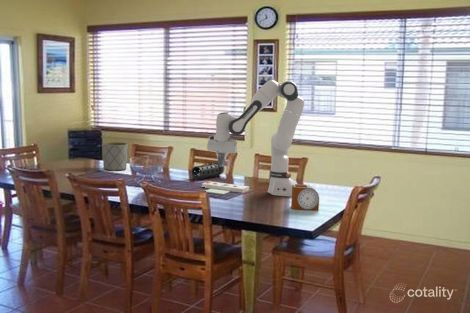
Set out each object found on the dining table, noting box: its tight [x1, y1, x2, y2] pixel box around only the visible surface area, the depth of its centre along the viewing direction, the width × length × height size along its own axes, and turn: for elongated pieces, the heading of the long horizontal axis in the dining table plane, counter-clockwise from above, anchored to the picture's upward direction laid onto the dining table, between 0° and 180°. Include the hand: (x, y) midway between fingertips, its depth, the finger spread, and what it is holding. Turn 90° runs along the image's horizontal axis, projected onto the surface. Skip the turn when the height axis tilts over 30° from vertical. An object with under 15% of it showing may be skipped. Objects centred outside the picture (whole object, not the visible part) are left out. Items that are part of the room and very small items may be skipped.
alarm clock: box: [290, 183, 320, 211], centre depth 303 cm, size 15×8×14 cm, turn 90°
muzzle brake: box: [191, 161, 226, 181], centre depth 388 cm, size 10×28×10 cm, turn 144°
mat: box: [205, 188, 231, 195], centre depth 340 cm, size 14×9×1 cm, turn 65°
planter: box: [101, 141, 129, 172], centre depth 408 cm, size 19×19×20 cm
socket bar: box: [201, 180, 250, 194], centre depth 351 cm, size 30×10×3 cm, turn 65°
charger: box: [217, 152, 226, 167], centre depth 343 cm, size 3×4×8 cm
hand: (221, 159), depth 343 cm, fingers closed on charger, 3 cm apart
